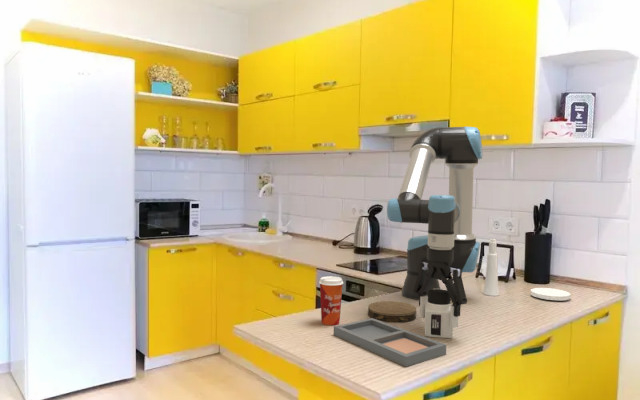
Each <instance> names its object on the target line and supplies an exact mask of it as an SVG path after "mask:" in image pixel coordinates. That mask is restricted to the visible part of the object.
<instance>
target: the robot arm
mask: <svg viewBox="0 0 640 400" xmlns="http://www.w3.org/2000/svg"><path fill="white" fill-rule="evenodd" d="M409 158H410V159H409V162H408V166H407V168H406V171H405V174H404V178H403V181H402V184H401V187H400V191H399V192H398V193H399V194H398V196H397V197H396V198H391V199H389V200H388V202H387V208H386V215H387V218H388V220H389V221H391V222H396V223H401V224H403V223H408V224H425V225H428V226H427V234H426V235H418V236H413V237H410V238H408V241H407V249H406V251H407V256H406V257H407V261H406V277H405V279H404V281H403V286H402V287H401V295H402V296H403V297H405V298H408V299H413V300H418V306H419V319H425V304H428V291H429V290H431V289H441V285H440V281H441V282H442V284H444V286H445V288H446V289H445V290H447V291H448V293H449V296H450V298H451V303H452V304H450V328H453V329H454V328H458V327H459V317H460V316H461V307H462V305H466V304H467V303H468V300H467V295H466V291H465V286H464V282H463V275H462V274H463V273H474V272H475V270H476V268H477V264H478V259H479V254H480V245H481V243H480V242H479V241H477V237H476V235H475V234H474V233H473V201H474V198H473V196H474V168H475V167H476V166H477V165H478V164H479V160H482V159H483V144H482V137H481V132H480V130H479V129H478V127H476V126H475V127H474V126H450V127H449V126H448V127H445V126H444V127H441V126H439V127H438V126H437V127H433V128H431V129H427V130H426V131H425V132H423V133H422V134H421V135H420V136H418V137H417V138H416V139H415V141H414V142H413V143H412V145H411V147H410V150H409ZM436 159H441V160H442V159H443V160H445V162H444V164H445V165H446V166H447V168H448V169H449V170H448V171H449V172H448V173H449V175H448V194H446V195H445V194H432V195H430V196H429V198H428V199H423V195H424V191H425V187H426V185H427V184H426V183H427V179H428V176H429V173H430V170H431V169H430V168H431V166H432V164H433V163H434V162H435V160H436Z"/></svg>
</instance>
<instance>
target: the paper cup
mask: <svg viewBox="0 0 640 400" xmlns="http://www.w3.org/2000/svg"><path fill="white" fill-rule="evenodd" d="M318 283H319V293H320V294H319V295H320V297H319V298H320V316H321V324H323V325H324V326H338V325H340V320H341V307H342V295H343V284H344V281H343V279H342V277H339V276H332V275H331V276H330V275H329V276H322V277H320V279H319V281H318Z"/></svg>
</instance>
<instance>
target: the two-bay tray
mask: <svg viewBox="0 0 640 400" xmlns="http://www.w3.org/2000/svg"><path fill="white" fill-rule="evenodd" d="M333 336H336V337H337V338H340V339H342V340H344V341H346V342H348V343H351V344H354V345H356V346H357V347H360V348H362V349H364V350H367V351H369V352H371V353H373V354H375V355H378V356H380V357H383V358H385V359H387V360H390V361H391V362H394V363H396V364H398V365H401V366H402V367H405V368H408V367H411V366H413V365H417V364H420V363H422V362H426V361H430V360H432V359H437V358H440V357H442V356H445V355H447V344H446V343H442V342H440V341H437V340H434V339H431V338H429V337H427V336H423V335H420V334H417V333H414V332H412V331H409V330H406V329H404V328H401V327H398V326H397V325H396V326H395V325H393V324H391V323H388V322H384V321H379V320H376V319H374V318H371V317H370V318H365V319H362V320H357V321H352V322H348V323H342V324H337V325H333Z"/></svg>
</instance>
